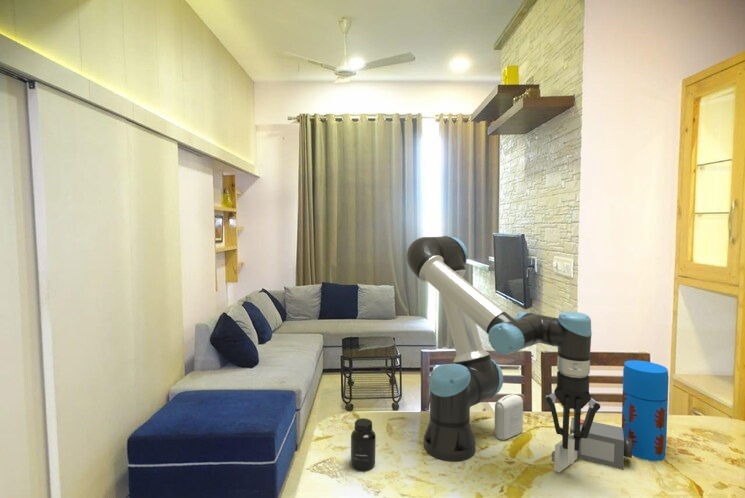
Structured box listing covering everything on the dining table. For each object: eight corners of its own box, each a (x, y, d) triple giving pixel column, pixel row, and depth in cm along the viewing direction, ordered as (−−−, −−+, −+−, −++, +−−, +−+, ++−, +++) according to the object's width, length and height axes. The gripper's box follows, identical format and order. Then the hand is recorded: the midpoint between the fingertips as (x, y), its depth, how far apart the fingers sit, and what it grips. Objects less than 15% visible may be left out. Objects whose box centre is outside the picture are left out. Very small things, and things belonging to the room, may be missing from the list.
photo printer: (513, 427, 131) (513, 389, 130) (524, 432, 127) (525, 394, 127) (492, 436, 125) (492, 397, 125) (503, 442, 122) (503, 402, 121)
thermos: (661, 445, 119) (664, 363, 118) (670, 465, 109) (673, 375, 108) (618, 438, 124) (620, 358, 122) (623, 455, 114) (626, 369, 113)
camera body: (569, 456, 114) (570, 427, 113) (571, 443, 121) (571, 415, 120) (632, 472, 106) (633, 440, 106) (630, 456, 113) (630, 427, 113)
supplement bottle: (357, 474, 106) (356, 430, 105) (346, 461, 112) (346, 419, 111) (380, 467, 109) (379, 424, 109) (368, 455, 115) (368, 414, 115)
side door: (571, 455, 114) (571, 430, 113) (578, 458, 112) (579, 432, 112) (551, 470, 107) (551, 443, 107) (558, 473, 105) (559, 446, 105)
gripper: (546, 374, 102) (544, 463, 104) (604, 381, 98) (601, 474, 99) (544, 365, 109) (542, 448, 111) (598, 370, 105) (595, 457, 106)
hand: (569, 460), depth 105 cm, fingers closed
